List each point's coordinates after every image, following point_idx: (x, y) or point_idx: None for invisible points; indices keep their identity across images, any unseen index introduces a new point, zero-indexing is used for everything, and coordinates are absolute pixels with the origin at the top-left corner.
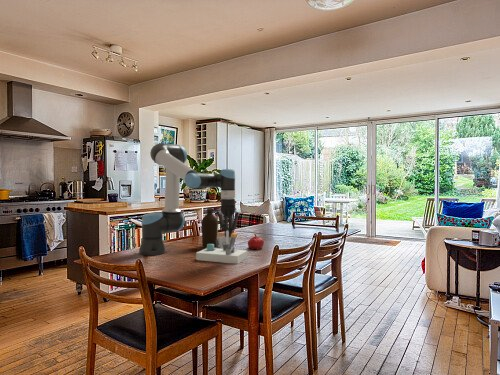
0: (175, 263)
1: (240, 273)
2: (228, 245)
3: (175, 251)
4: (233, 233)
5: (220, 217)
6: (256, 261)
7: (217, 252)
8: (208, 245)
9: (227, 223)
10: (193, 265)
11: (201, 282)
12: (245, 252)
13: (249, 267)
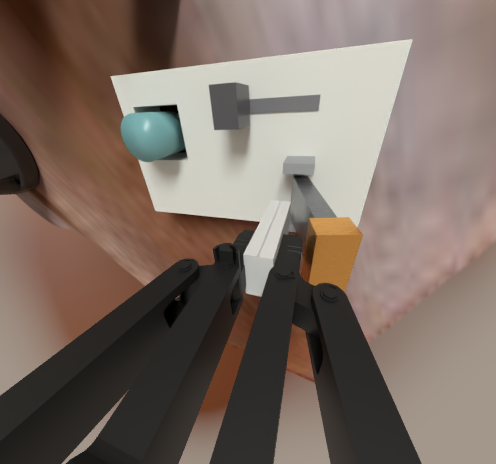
0: (157, 248)
1: (383, 314)
2: (239, 87)
3: (6, 85)
4: (321, 271)
5: (69, 453)
6: (469, 133)
7: (226, 185)
8: (146, 161)
9: (209, 343)
10: (210, 258)
11: (300, 357)
12: (394, 95)
13: (416, 254)
